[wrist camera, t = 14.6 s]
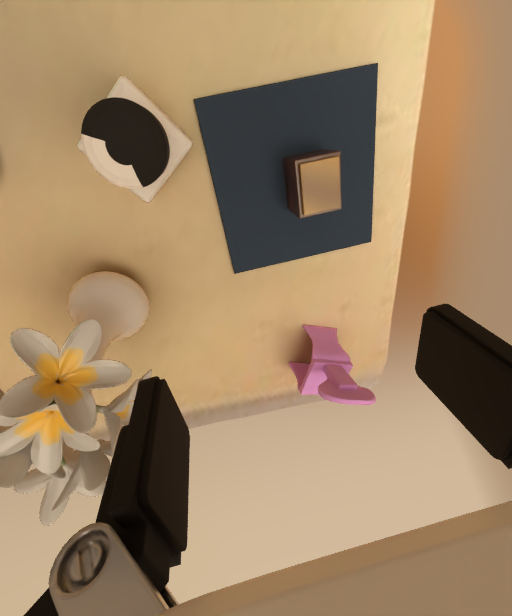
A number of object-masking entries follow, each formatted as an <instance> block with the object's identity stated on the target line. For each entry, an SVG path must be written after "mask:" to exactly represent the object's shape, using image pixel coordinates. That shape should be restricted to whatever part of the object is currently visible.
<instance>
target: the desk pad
mask: <svg viewBox="0 0 512 616" xmlns="http://www.w3.org/2000/svg"><path fill="white" fill-rule="evenodd" d="M377 72H378V63H375V64H370V65H365V66H360V67H355V68H350V69H345V70H340V71H335V72H330V73H325V74H320V75H314V76H309V77H304V78H299V79H294V80H289V81H284V82H279V83H274V84H269V85H264V86H259V87H254V88H248V89H243V90H238V91H233V92H228V93H223V94H218V95H213V96H208V97H203V98H198V99H194V102H195V107H196V111H197V115H198V120H199V124H200V128H201V132H202V137H203V141H204V145H205V149H206V154H207V158H208V162H209V167H210V171H211V175H212V179H213V184H214V188H215V192H216V196H217V201H218V205H219V209H220V214H221V218H222V222H223V226H224V231H225V235H226V239H227V243H228V248H229V252H230V256H231V261H232V265H233V269H234V273H235V274H236V273H240V272H244V271H248V270H253V269H257V268H261V267H266V266H270V265H274V264H278V263H283V262H287V261H291V260H295V259H300V258H304V257H308V256H312V255H317V254H321V253H325V252H329V251H334V250H338V249H342V248H346V247H351V246H355V245H359V244H364V243H368V242H371V235H372V208H373V181H374V154H375V127H376V99H377ZM321 149H326V150H337V151H341V199H342V209H340V210H336V211H332V212H327V213H323V214H318V215H314V216H310V217H305V218H301V219H300V218H299V217H297V216H296V215H295V214H294V213H292V212H291V211H290V210H288V203H287V194H286V185H285V176H284V167H283V158H284V157H289V156H293V155H298V154H303V153H307V152H312V151H317V150H321Z"/></svg>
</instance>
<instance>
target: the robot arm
mask: <svg viewBox="0 0 512 616" xmlns="http://www.w3.org/2000/svg"><path fill="white" fill-rule="evenodd" d="M415 370H416V373H417V375H418V377H419V378H420V379H421V380H422V381H423V382H424V383H425V384H426V385H427V387H428V388H429V389H430V390H431V391H432V392H433V393H434V394H435V395H436V396H437V397H438V398H439V399H440V401H441V402H442V403H443V404H444V405H445V406H446V407H447V408H448V409H449V410H450V411H451V412H452V414H453V415H454V416H455V417H456V418H457V419H458V420H459V421H460V422H461V423H462V424H463V425H464V426H465V428H466V429H467V430H468V431H469V432H470V433H471V434H472V435H473V436H474V437H475V438H476V439H477V440H478V442H479V443H480V444H481V445H482V446H483V447H484V448H485V449H486V450H487V451H488V452H489V453H490V454H491V455H492V456H493V457H494V458H496V459H498V460H501V461H502V462H503V463H504V464H505V465H506V466H507V468H508V469H510V468H512V346H511V345H510V344H508V343H507V342H505V341H504V340H502V339H501V338H499V337H498V336H496V335H494V334H493V333H491V332H490V331H488V330H487V329H485V328H484V327H482V326H481V325H479V324H478V323H476V322H475V321H473V320H472V319H470V318H469V317H467V316H466V315H464V314H463V313H461V312H460V311H458V310H457V309H455V308H454V307H452V306H451V305H449V304H442V305H438V306H434V307H430V308H429V309H428V310H427V312H426V313H425V314H424V315H423V320H422V327H421V334H420V339H419V346H418V353H417V359H416V365H415ZM189 448H190V436H189V430H188V427H187V425H186V423H185V420H184V418H183V416H182V414H181V412H180V410H179V408H178V406H177V403H176V401H175V399H174V397H173V395H172V393H171V391H170V389H169V387H168V384H167V382H166V380H165V379H162V380H160V379H159V377H158V376H156V377H152V378H148V379H144V380H140V381H139V383H138V387H137V391H136V396H135V400H134V404H133V408H132V412H131V416H130V421H129V425H125V426H123V427H122V428H121V430H120V433H119V436H118V440H117V443H116V447H115V451H114V455H113V458H112V462H111V466H110V470H109V474H108V477H107V481H106V485H105V489H104V492H103V496H102V500H101V504H100V508H99V512H98V515H97V519H96V523H93V524H90V525H88V526H86V527H84V528H82V529H81V530H79V531H78V532H77V533H76V534H74V535H73V536H72V537H71V538H70V539H69V541H68V542H67V543H66V544H65V545H64V546H63V547H62V550H61V551H60V552H59V554H58V556H57V557H56V559H55V561H54V564H53V567H52V569H51V572H50V578H49V588H48V589H47V590H46V592H45V593H44V594H43V595H42V596H41V597H40V598H39V599H38V600H37V602H36V603H35V604H34V605H33V606H32V607H31V608H30V609H29V611H28V612H27V613H26V614H25V615H24V616H512V501H509V502H506V503H503V504H499V505H496V506H492V507H489V508H485V509H482V510H479V511H475V512H472V513H468V514H465V515H462V516H458V517H455V518H452V519H448V520H445V521H441V522H438V523H435V524H431V525H428V526H425V527H421V528H418V529H415V530H411V531H408V532H405V533H401V534H398V535H395V536H391V537H388V538H384V539H381V540H378V541H374V542H371V543H368V544H365V545H361V546H358V547H354V548H351V549H348V550H344V551H342V552H338V553H335V554H332V555H328V556H325V557H321V558H318V559H315V560H312V561H308V562H305V563H302V564H298V565H295V566H292V567H289V568H285V569H282V570H279V571H275V572H272V573H269V574H266V575H263V576H259V577H256V578H253V579H250V580H247V581H244V582H241V583H238V584H235V585H232V586H229V587H226V588H223V589H220V590H217V591H214V592H211V593H207V594H205V595H202V596H200V597H197V598H194V599H192V600H189V601H187V602H184V603H182V604H178V602H177V601H176V599H175V598H174V597H173V595H172V594H171V592H170V591H169V589H168V588H167V587H166V584H167V583H168V581H169V568H170V567H173V566H177V565H180V564H181V552H182V551H185V550H186V547H187V527H188V488H189V487H188V486H189Z"/></svg>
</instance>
